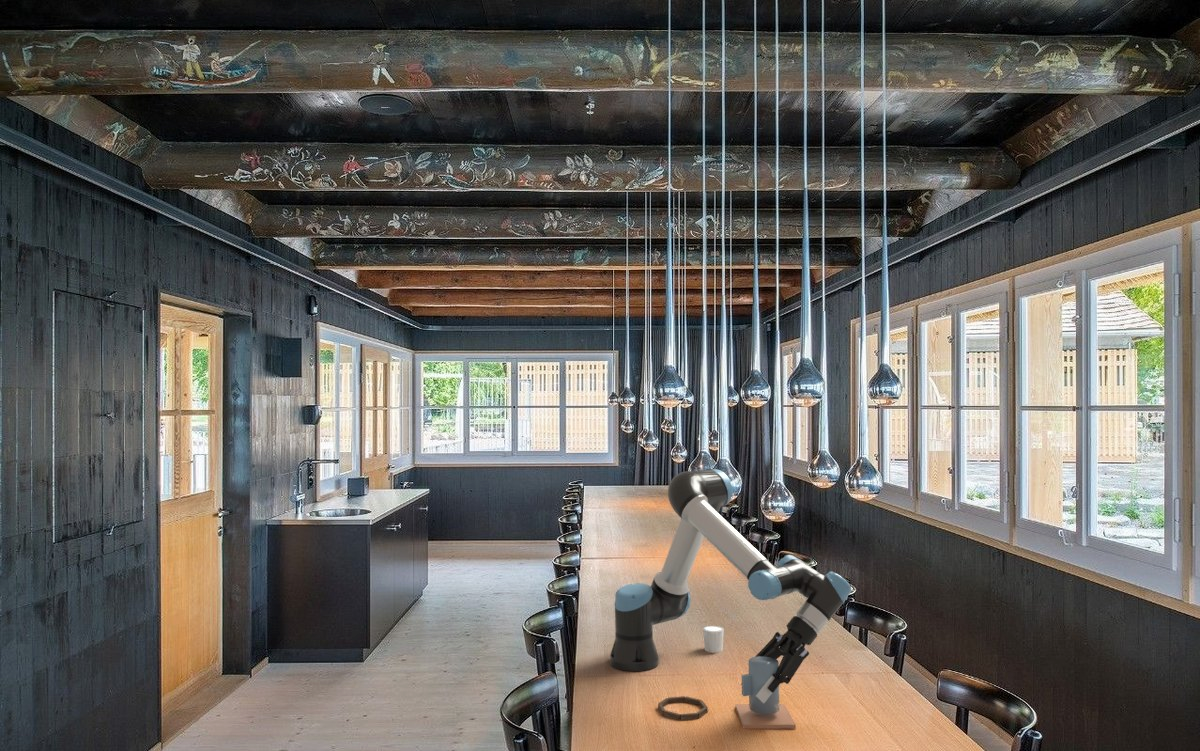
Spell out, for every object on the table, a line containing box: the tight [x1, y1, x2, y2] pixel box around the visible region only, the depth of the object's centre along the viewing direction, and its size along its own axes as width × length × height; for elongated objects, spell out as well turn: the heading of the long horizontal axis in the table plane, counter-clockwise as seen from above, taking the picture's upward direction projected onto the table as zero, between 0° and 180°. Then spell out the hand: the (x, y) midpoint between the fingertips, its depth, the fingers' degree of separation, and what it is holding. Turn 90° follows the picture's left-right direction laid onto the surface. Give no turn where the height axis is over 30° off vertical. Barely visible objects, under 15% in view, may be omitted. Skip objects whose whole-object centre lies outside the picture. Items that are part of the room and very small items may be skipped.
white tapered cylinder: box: [702, 625, 725, 654], centre depth 255 cm, size 7×7×7 cm
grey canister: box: [741, 656, 780, 714], centre depth 200 cm, size 10×8×12 cm
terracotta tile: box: [734, 703, 797, 730], centre depth 200 cm, size 13×13×1 cm
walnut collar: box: [657, 695, 709, 721], centre depth 206 cm, size 12×12×1 cm
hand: (752, 693), depth 200 cm, fingers closed on grey canister, 7 cm apart
